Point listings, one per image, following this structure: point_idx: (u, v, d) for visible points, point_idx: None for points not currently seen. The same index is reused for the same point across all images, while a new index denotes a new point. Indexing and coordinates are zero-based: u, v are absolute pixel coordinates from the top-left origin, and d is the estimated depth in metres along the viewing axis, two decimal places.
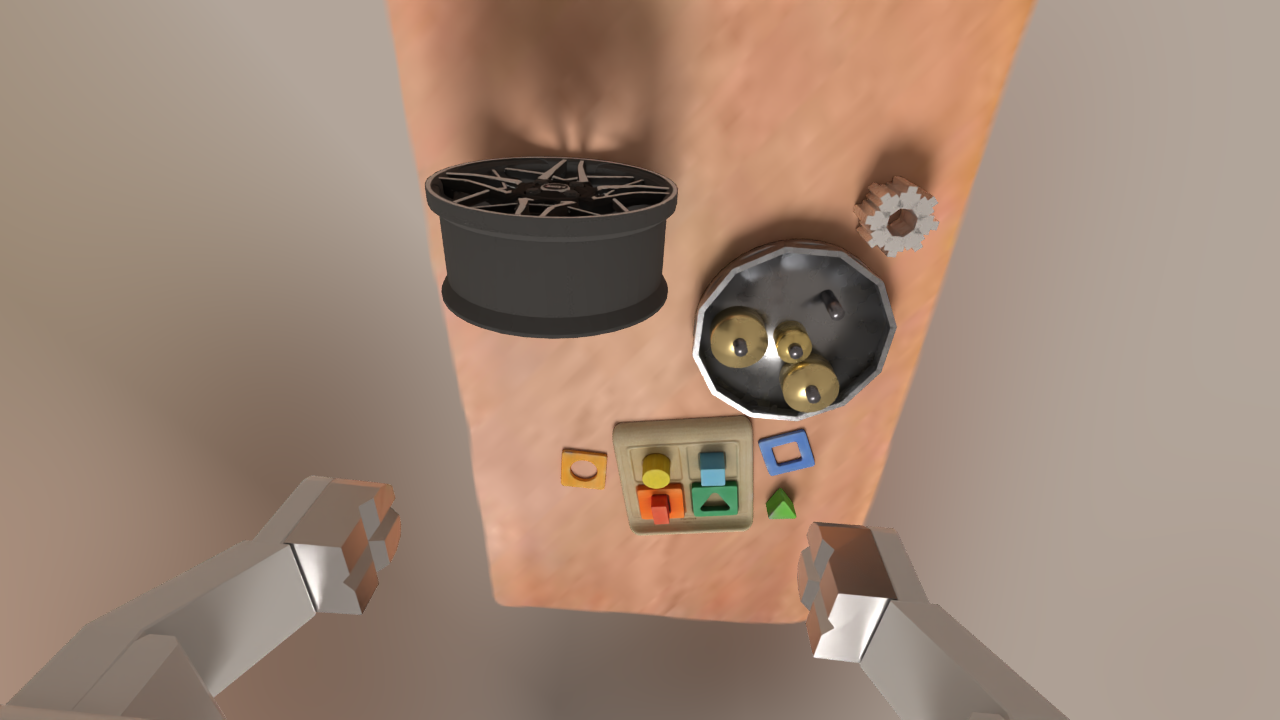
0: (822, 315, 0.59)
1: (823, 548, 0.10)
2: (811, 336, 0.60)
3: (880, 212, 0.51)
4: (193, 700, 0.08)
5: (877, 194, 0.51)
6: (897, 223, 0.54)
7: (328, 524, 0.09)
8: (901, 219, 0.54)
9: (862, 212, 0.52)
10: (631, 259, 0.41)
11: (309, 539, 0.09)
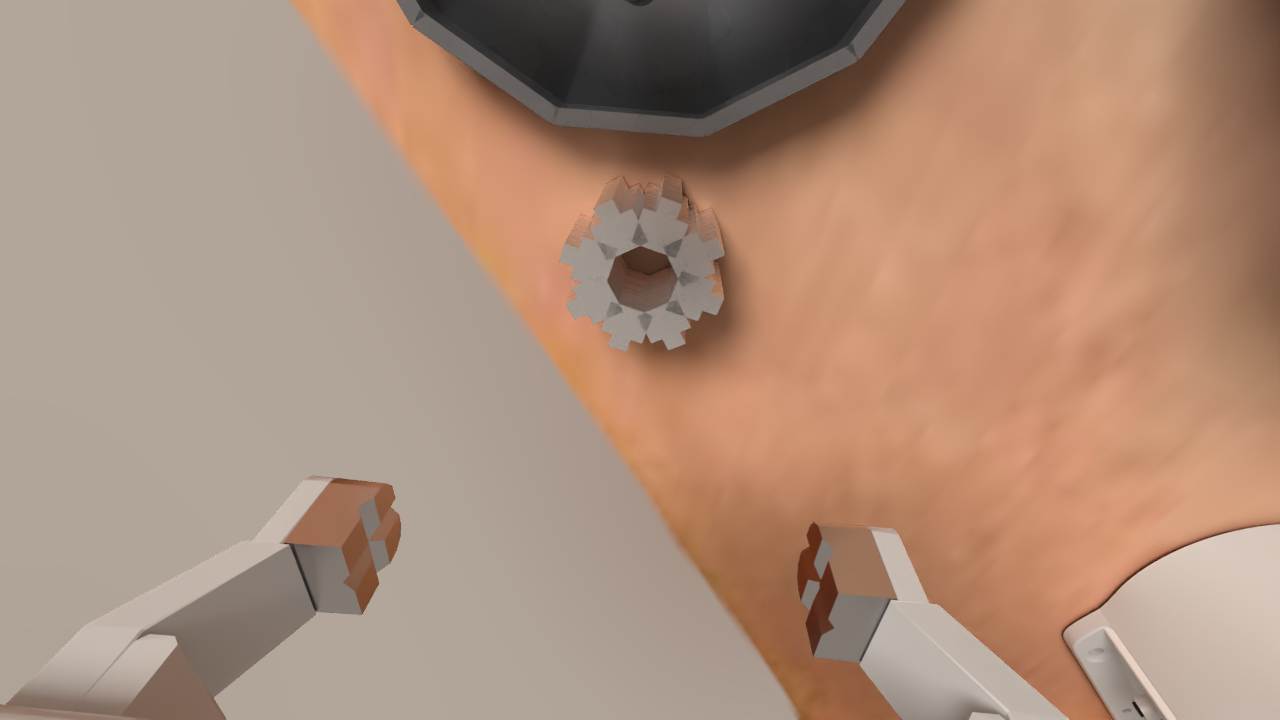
0: None
1: (823, 548, 0.10)
2: None
3: (701, 274, 0.21)
4: (193, 700, 0.08)
5: None
6: None
7: (328, 524, 0.09)
8: None
9: (721, 240, 0.22)
10: None
11: (309, 539, 0.09)
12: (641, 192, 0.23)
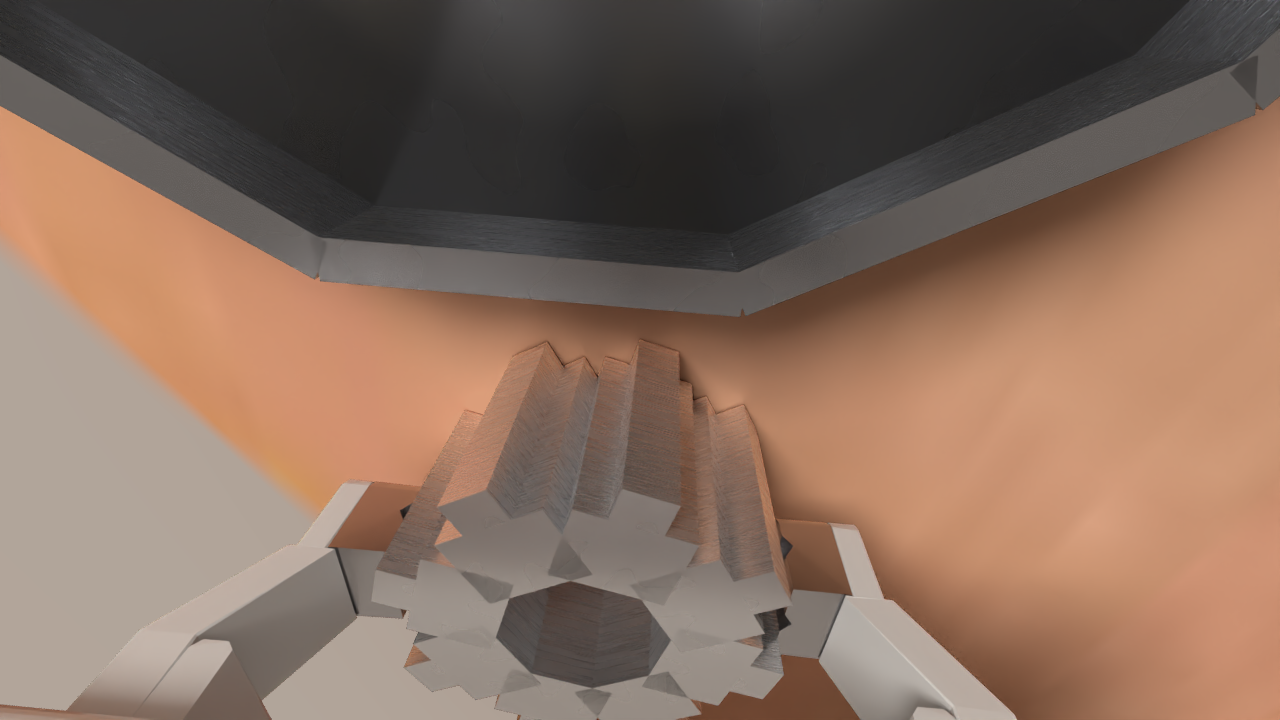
0: None
1: (782, 544, 0.10)
2: None
3: (729, 632, 0.09)
4: (245, 705, 0.08)
5: (771, 617, 0.10)
6: None
7: (371, 528, 0.09)
8: None
9: (773, 522, 0.09)
10: None
11: (353, 543, 0.09)
12: (588, 383, 0.10)
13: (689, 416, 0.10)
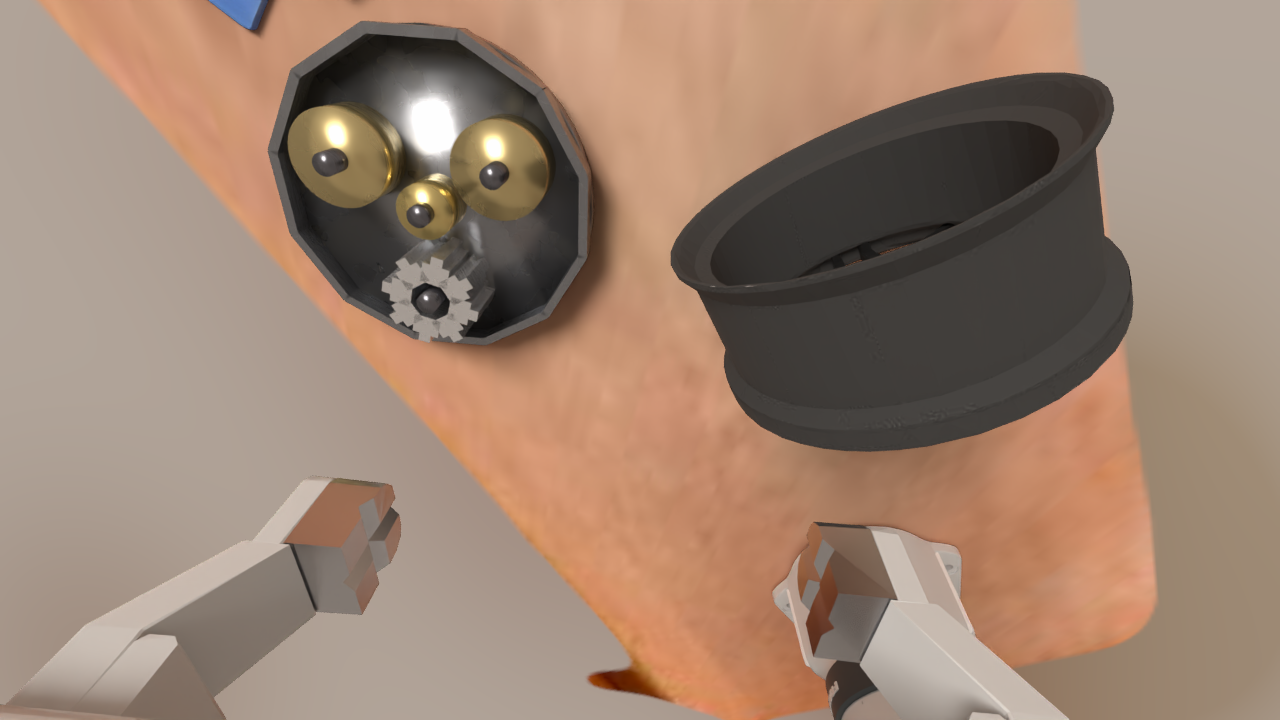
0: None
1: (823, 548, 0.10)
2: None
3: (463, 298, 0.37)
4: (193, 700, 0.08)
5: (483, 306, 0.39)
6: None
7: (328, 524, 0.09)
8: None
9: (478, 278, 0.38)
10: (774, 372, 0.26)
11: (309, 539, 0.09)
12: (438, 248, 0.39)
13: (462, 255, 0.39)
